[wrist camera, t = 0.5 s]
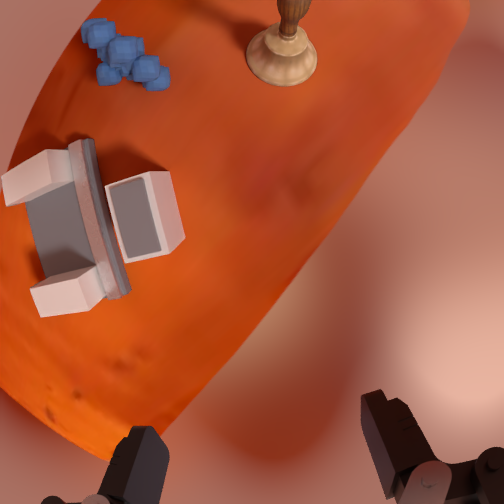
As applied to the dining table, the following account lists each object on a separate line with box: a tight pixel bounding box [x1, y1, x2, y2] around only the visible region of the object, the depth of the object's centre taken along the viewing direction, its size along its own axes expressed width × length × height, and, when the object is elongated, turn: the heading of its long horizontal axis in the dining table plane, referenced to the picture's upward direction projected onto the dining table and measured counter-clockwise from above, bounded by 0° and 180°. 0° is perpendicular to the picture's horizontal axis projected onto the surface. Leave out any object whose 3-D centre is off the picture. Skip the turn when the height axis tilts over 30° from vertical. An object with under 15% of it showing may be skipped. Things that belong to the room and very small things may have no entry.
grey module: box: [105, 171, 185, 263], centre depth 29 cm, size 8×5×7 cm, turn 12°
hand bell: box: [246, 0, 317, 86], centre depth 20 cm, size 8×8×16 cm
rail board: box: [1, 138, 132, 317], centre depth 30 cm, size 20×13×6 cm, turn 12°
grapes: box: [81, 18, 171, 91], centre depth 23 cm, size 12×7×12 cm, turn 47°
